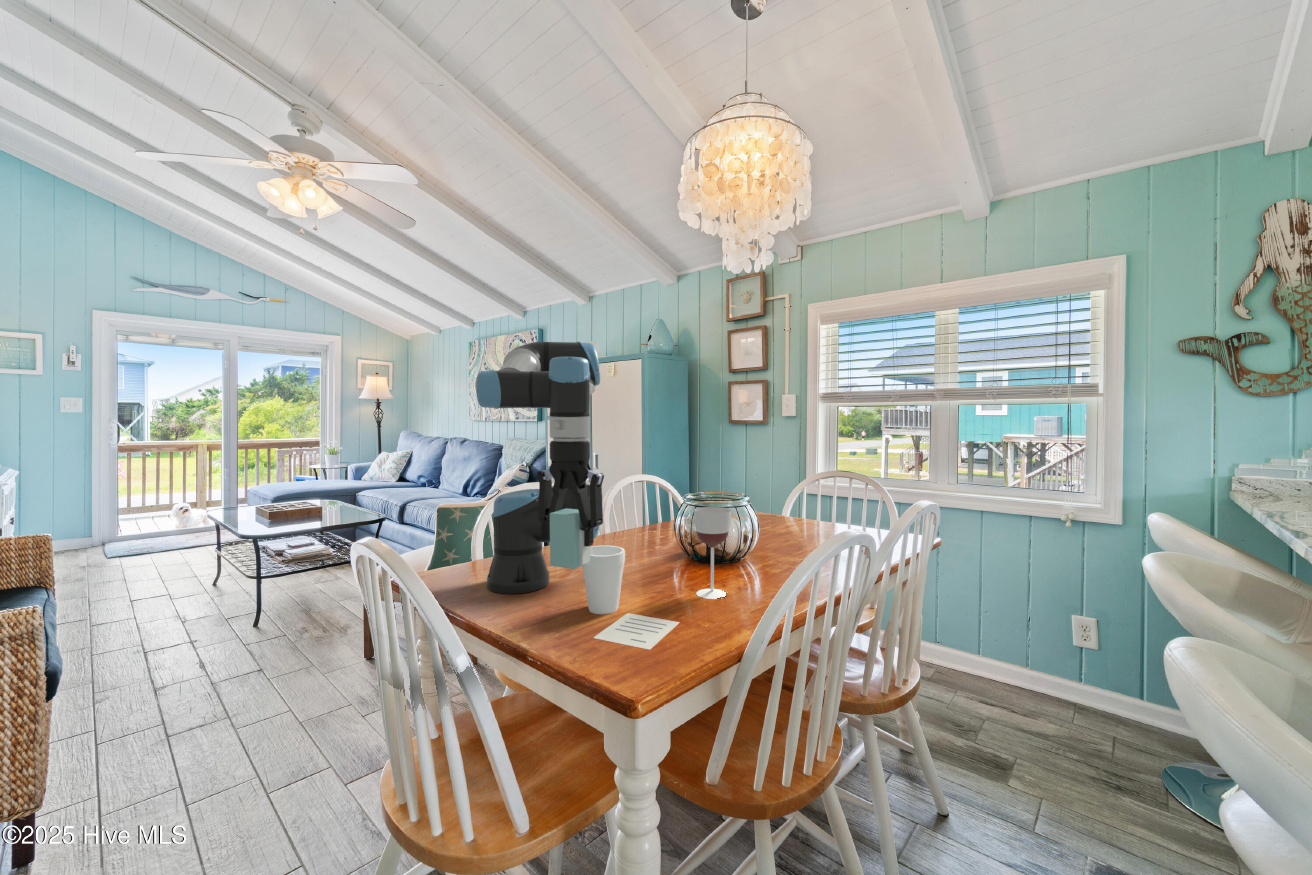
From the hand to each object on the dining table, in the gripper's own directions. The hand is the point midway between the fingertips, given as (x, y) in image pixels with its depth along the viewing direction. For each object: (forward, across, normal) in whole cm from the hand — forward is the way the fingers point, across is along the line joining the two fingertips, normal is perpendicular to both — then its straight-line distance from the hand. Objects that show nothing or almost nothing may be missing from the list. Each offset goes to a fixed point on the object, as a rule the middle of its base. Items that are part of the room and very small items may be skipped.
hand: (570, 560), depth 104 cm
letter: (+15, +11, +7) cm, 20 cm away
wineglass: (+15, +17, +34) cm, 41 cm away
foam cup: (+15, -1, +14) cm, 21 cm away
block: (+1, 0, 0) cm, 1 cm away
